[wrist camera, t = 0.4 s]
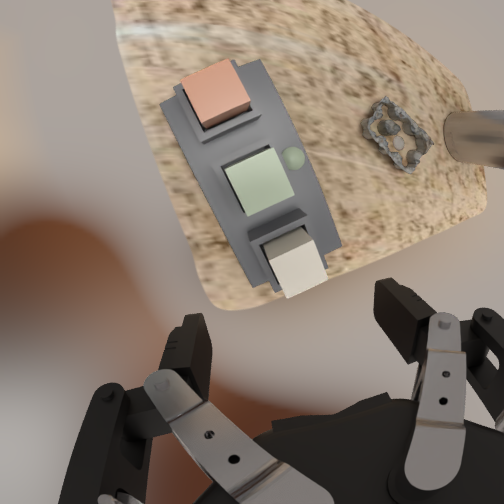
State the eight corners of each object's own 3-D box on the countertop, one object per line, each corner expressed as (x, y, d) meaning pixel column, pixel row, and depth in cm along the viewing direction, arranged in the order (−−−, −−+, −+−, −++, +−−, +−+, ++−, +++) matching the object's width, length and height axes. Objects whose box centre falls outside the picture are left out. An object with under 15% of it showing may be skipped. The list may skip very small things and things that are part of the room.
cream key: (299, 225, 33) (313, 239, 28) (313, 259, 35) (328, 279, 29) (262, 242, 34) (268, 260, 28) (278, 276, 35) (286, 299, 30)
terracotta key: (228, 75, 27) (228, 58, 21) (247, 111, 28) (250, 100, 23) (188, 93, 27) (179, 80, 21) (206, 129, 29) (201, 122, 23)
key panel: (258, 62, 30) (263, 46, 24) (338, 242, 39) (354, 257, 34) (162, 106, 31) (149, 97, 25) (252, 283, 40) (255, 303, 35)
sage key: (265, 149, 30) (273, 147, 24) (283, 188, 32) (294, 194, 26) (225, 167, 30) (224, 169, 25) (244, 206, 32) (247, 216, 26)
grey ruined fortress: (421, 144, 35) (437, 145, 31) (398, 177, 37) (413, 180, 33) (378, 94, 32) (393, 90, 28) (352, 127, 34) (365, 125, 30)
